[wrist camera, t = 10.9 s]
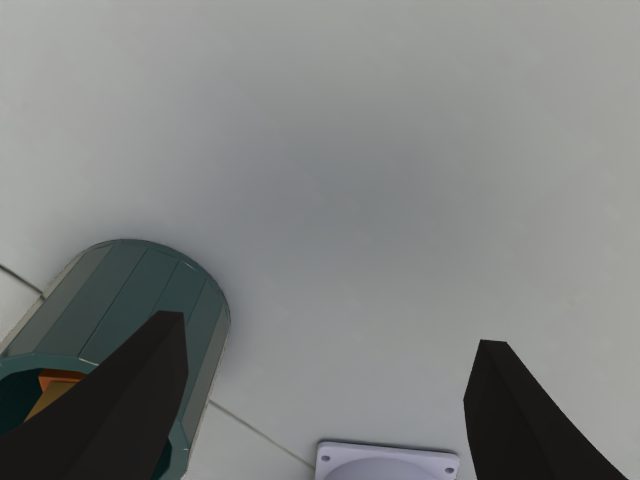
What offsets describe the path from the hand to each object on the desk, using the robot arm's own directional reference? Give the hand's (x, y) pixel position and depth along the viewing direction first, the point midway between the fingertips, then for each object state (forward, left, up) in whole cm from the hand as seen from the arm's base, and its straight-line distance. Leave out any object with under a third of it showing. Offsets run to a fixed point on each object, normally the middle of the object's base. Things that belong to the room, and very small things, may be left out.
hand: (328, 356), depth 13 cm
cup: (-8, +9, -10) cm, 16 cm away
